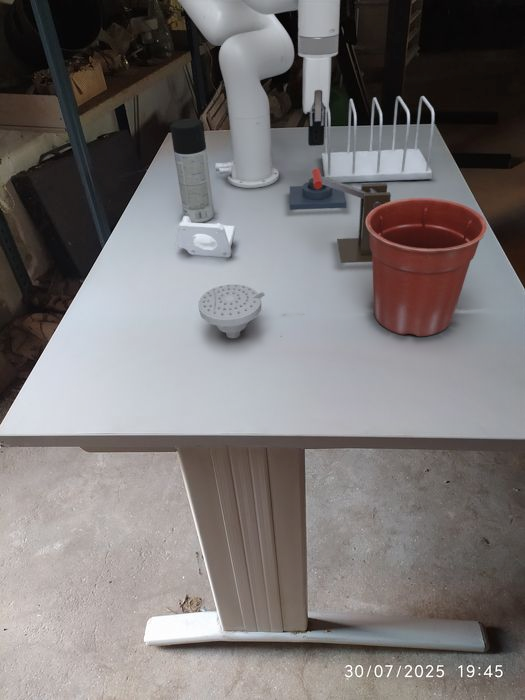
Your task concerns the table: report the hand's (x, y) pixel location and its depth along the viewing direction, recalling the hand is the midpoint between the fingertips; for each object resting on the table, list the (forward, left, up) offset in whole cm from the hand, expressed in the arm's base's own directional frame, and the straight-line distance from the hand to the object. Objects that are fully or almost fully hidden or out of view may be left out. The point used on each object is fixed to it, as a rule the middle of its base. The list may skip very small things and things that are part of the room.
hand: (315, 143), depth 113 cm
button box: (0, 0, -13) cm, 13 cm away
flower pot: (+13, -44, -13) cm, 48 cm away
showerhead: (-15, -48, -13) cm, 52 cm away
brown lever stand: (+9, -24, -13) cm, 29 cm away
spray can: (-26, -5, -13) cm, 29 cm away
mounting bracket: (-23, -21, -13) cm, 34 cm away
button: (0, 0, -9) cm, 9 cm away
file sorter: (+15, +19, -13) cm, 28 cm away
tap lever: (+4, -24, -1) cm, 25 cm away
